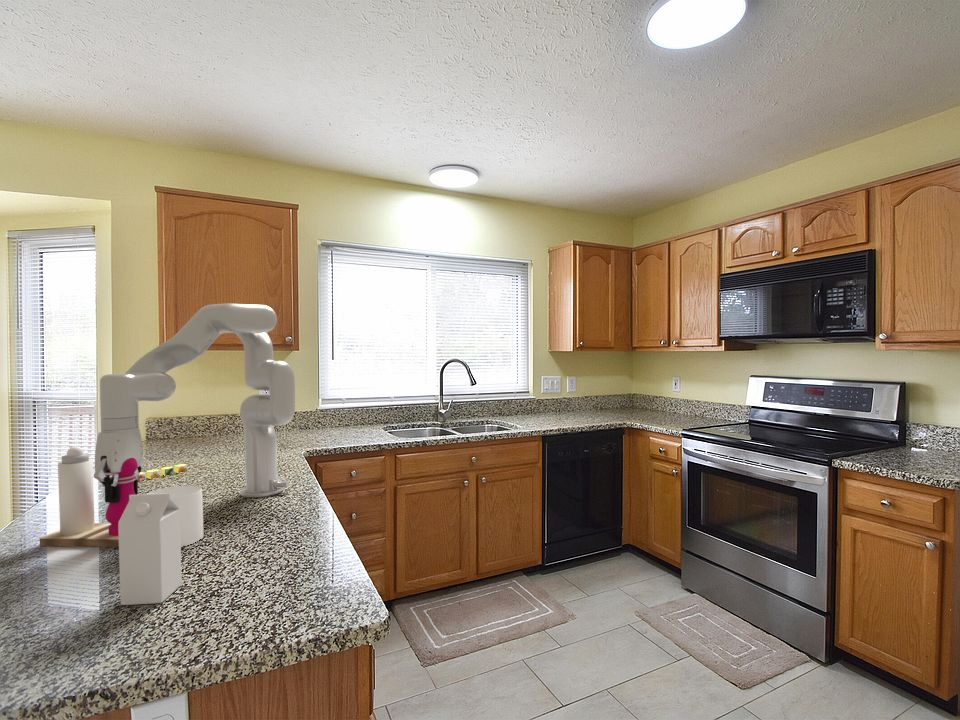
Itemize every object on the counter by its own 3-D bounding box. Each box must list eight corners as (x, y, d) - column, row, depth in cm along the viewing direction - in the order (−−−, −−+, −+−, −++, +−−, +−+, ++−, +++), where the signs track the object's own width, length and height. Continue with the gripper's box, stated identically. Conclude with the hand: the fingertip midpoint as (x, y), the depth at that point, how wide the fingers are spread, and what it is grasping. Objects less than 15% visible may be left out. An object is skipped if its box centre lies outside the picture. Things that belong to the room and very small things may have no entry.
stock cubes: (86, 484, 176) (86, 475, 176) (180, 466, 203) (180, 457, 203) (130, 497, 159) (129, 487, 159) (226, 475, 186) (225, 466, 186)
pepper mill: (128, 524, 126) (126, 446, 126) (149, 527, 124) (147, 447, 123) (98, 534, 119) (96, 451, 119) (120, 537, 117) (118, 453, 117)
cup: (143, 554, 112) (141, 501, 112) (149, 537, 122) (148, 489, 122) (202, 544, 117) (201, 494, 117) (204, 529, 128) (203, 482, 127)
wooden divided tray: (158, 531, 126) (157, 523, 126) (127, 547, 116) (127, 538, 116) (76, 530, 128) (76, 523, 128) (39, 546, 118) (39, 537, 118)
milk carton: (143, 587, 96) (140, 489, 96) (182, 585, 97) (179, 488, 96) (120, 606, 89) (117, 500, 89) (161, 603, 90) (158, 499, 89)
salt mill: (101, 525, 126) (98, 443, 125) (78, 535, 119) (75, 449, 119) (76, 525, 126) (74, 443, 126) (52, 535, 119) (49, 449, 119)
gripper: (132, 419, 130) (133, 489, 130) (74, 429, 113) (76, 509, 113) (159, 419, 129) (161, 489, 130) (105, 429, 112) (107, 509, 113)
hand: (121, 498), depth 121 cm, fingers closed on pepper mill, 5 cm apart
